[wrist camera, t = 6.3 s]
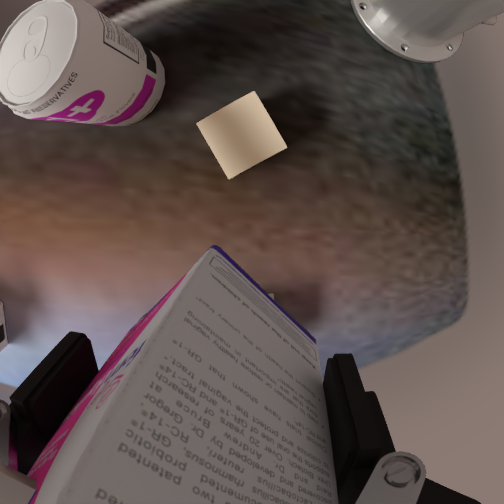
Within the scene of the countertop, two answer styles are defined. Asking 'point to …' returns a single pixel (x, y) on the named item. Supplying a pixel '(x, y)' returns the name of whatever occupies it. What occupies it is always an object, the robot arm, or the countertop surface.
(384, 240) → the countertop surface
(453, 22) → the robot arm
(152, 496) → the supplement box
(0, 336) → the container
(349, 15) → the countertop surface
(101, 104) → the supplement can
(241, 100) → the birch block
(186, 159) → the countertop surface
